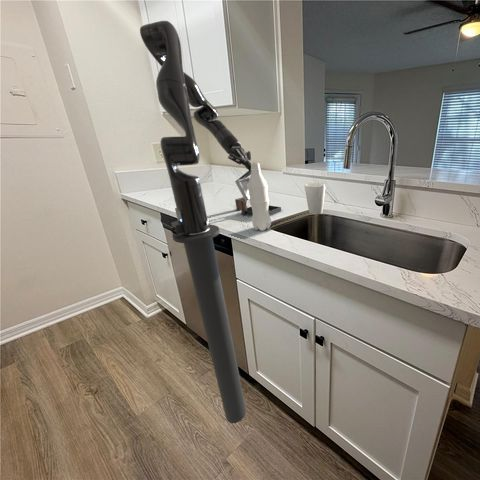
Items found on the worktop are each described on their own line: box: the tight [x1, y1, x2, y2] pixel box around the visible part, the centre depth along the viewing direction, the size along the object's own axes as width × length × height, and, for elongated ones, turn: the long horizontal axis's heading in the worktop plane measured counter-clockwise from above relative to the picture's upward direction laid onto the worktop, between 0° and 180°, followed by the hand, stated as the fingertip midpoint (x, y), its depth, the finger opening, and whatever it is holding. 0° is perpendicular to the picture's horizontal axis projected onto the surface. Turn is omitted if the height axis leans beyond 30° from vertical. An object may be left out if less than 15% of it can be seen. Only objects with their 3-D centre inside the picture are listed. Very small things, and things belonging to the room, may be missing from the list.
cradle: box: [234, 196, 248, 216], centre depth 126 cm, size 10×15×7 cm
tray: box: [240, 205, 282, 217], centre depth 123 cm, size 14×12×2 cm
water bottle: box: [248, 162, 272, 232], centre depth 98 cm, size 7×7×25 cm
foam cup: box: [304, 182, 326, 216], centre depth 119 cm, size 10×9×13 cm
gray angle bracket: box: [234, 169, 251, 204], centre depth 120 cm, size 12×12×11 cm
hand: (251, 169), depth 117 cm, fingers closed
